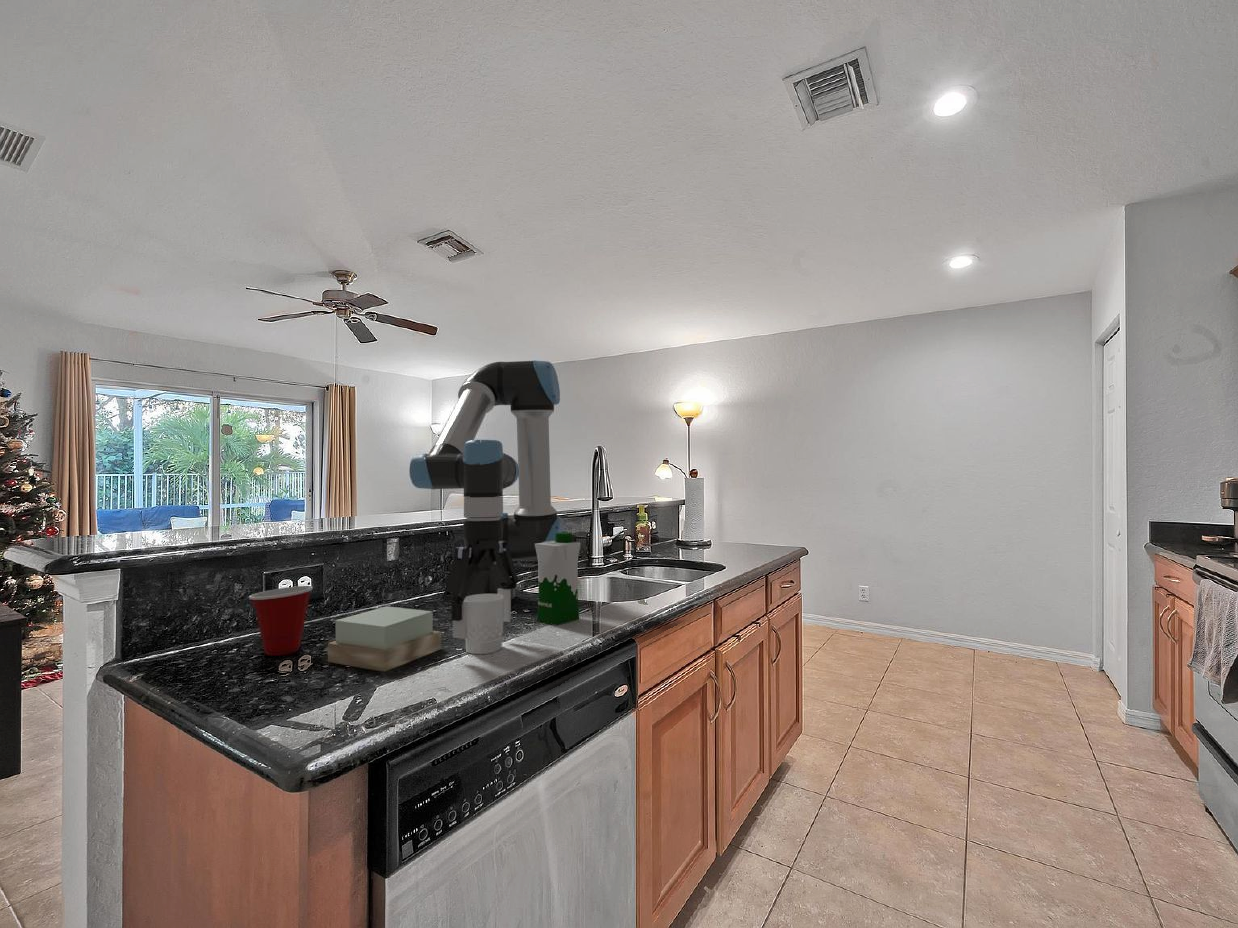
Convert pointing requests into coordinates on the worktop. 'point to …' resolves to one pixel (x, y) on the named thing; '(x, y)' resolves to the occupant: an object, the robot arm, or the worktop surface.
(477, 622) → the white cup
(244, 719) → the worktop surface
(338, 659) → the tower base
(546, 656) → the worktop surface
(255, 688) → the worktop surface
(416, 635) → the tower top
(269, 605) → the plastic cup
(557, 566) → the milk carton
